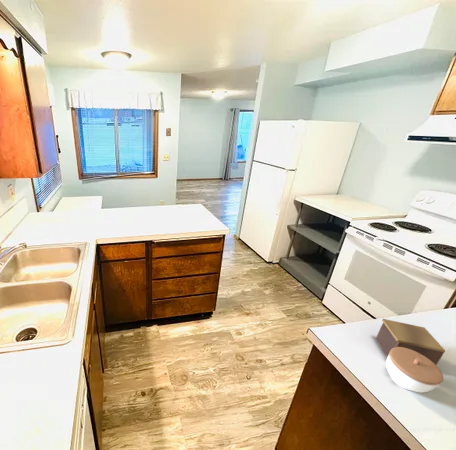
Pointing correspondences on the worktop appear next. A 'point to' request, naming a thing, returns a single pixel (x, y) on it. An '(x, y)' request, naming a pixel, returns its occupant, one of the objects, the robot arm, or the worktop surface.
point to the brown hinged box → (404, 345)
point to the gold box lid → (412, 335)
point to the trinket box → (413, 370)
